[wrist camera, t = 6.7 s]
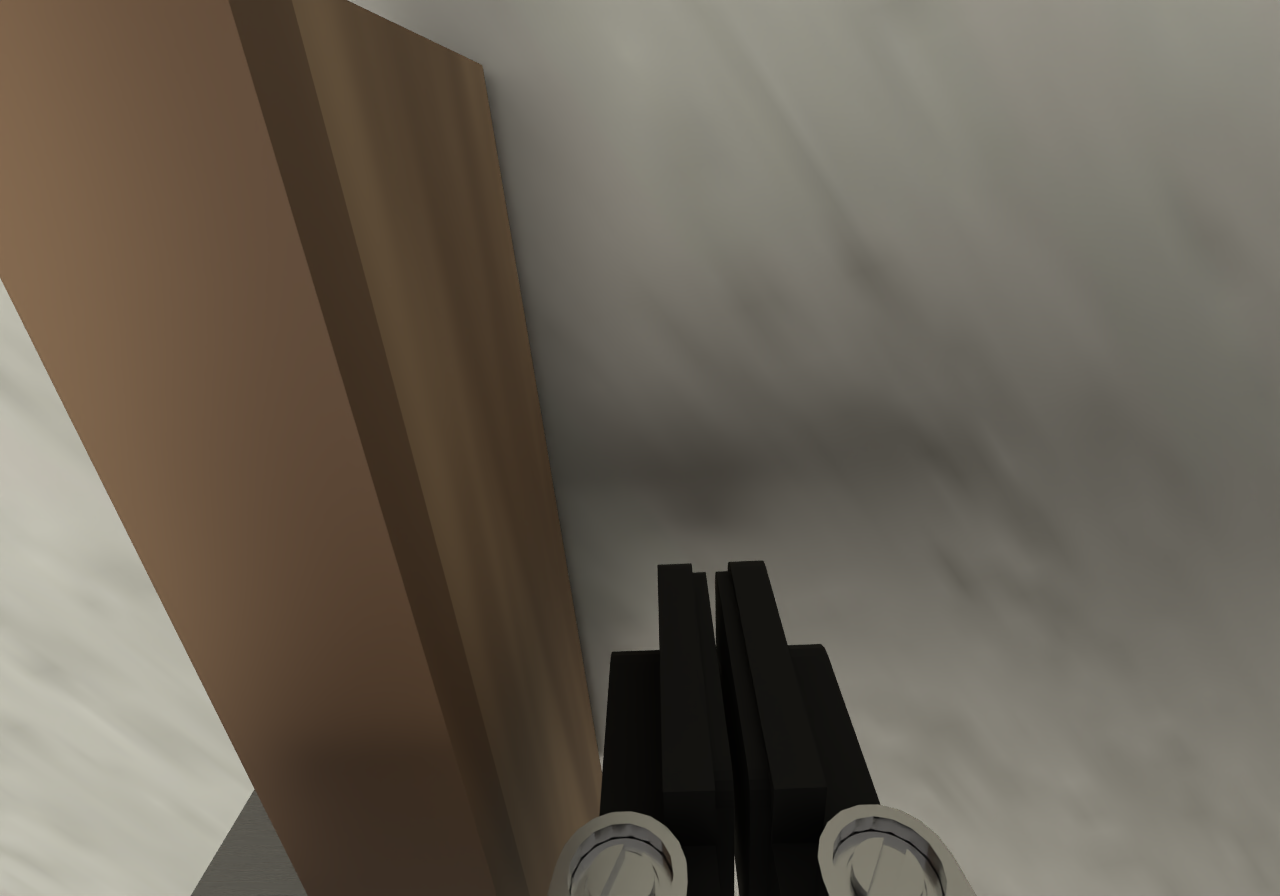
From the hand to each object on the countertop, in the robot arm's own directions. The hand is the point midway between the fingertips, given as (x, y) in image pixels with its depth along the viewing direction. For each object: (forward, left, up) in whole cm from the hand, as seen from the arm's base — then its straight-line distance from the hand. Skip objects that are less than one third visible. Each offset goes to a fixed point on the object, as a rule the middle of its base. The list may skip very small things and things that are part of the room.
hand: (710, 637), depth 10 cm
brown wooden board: (+4, 0, -3) cm, 5 cm away
